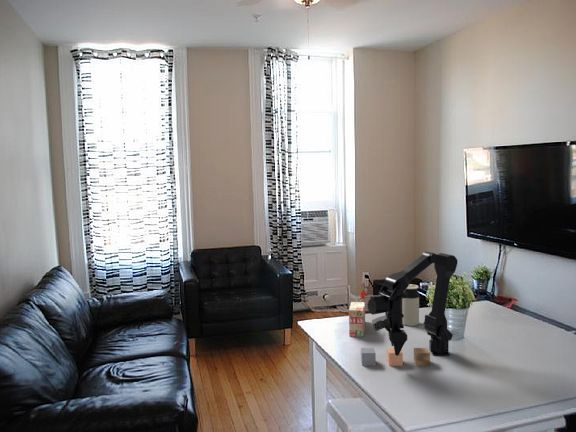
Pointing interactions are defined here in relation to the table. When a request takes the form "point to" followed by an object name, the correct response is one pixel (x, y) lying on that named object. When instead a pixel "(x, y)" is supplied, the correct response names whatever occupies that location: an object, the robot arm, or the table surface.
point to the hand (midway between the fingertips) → (395, 350)
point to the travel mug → (411, 306)
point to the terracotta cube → (394, 358)
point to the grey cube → (368, 357)
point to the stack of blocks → (356, 319)
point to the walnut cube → (421, 357)
